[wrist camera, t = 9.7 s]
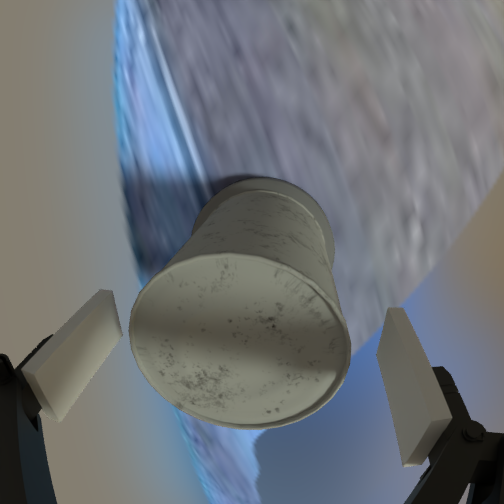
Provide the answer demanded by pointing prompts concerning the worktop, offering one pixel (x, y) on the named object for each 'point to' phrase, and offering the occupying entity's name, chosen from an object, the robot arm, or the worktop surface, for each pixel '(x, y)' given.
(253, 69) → the worktop surface
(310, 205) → the pad
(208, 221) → the grey marble cylinder
